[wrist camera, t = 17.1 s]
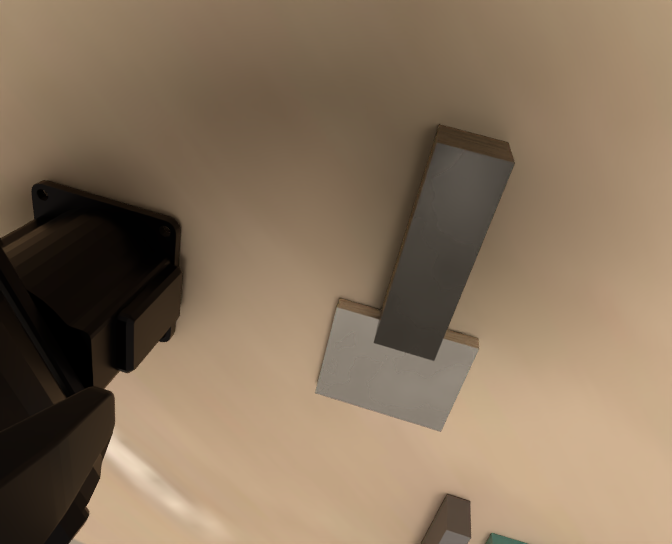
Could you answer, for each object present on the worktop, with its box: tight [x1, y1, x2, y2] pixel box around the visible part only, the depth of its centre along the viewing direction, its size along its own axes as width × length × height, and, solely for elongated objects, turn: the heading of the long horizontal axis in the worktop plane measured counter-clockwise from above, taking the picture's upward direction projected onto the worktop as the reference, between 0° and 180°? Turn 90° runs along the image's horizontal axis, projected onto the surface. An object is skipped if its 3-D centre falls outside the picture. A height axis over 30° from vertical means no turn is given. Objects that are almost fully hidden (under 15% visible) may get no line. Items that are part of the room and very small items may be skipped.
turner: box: [315, 124, 515, 432], centre depth 20 cm, size 13×6×2 cm, turn 168°
